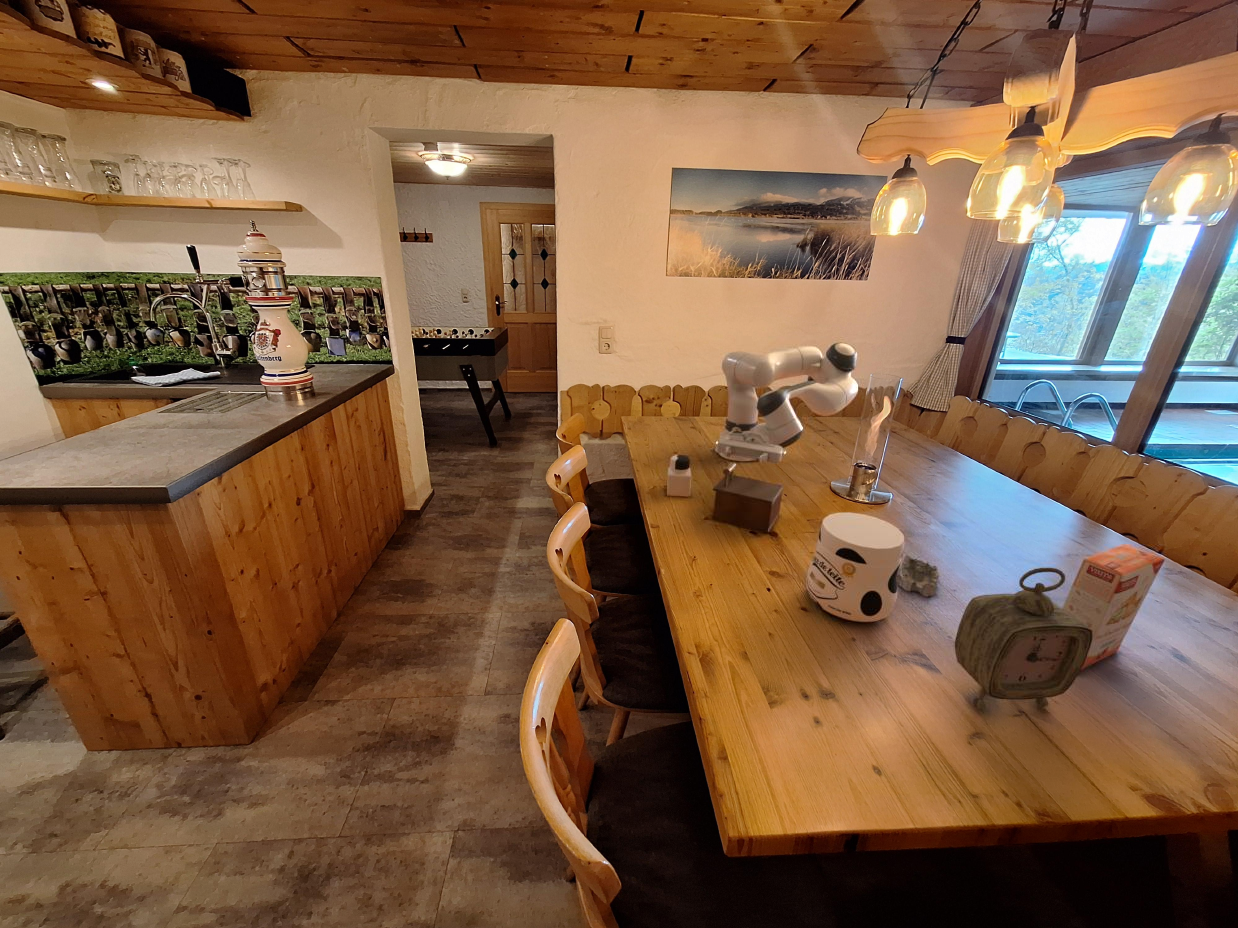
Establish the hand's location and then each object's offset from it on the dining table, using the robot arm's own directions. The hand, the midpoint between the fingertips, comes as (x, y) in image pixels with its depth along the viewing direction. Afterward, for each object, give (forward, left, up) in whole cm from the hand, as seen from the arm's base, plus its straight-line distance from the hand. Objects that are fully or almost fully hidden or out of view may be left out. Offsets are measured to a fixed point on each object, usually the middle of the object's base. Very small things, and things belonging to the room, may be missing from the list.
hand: (742, 457), depth 147 cm
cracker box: (+32, +76, -14) cm, 84 cm away
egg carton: (+22, +49, -14) cm, 55 cm away
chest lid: (+11, +5, -5) cm, 13 cm away
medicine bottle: (+5, -18, -14) cm, 24 cm away
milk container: (+39, +36, -14) cm, 55 cm away
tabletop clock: (+52, +61, -14) cm, 81 cm away
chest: (+11, +6, -14) cm, 19 cm away
